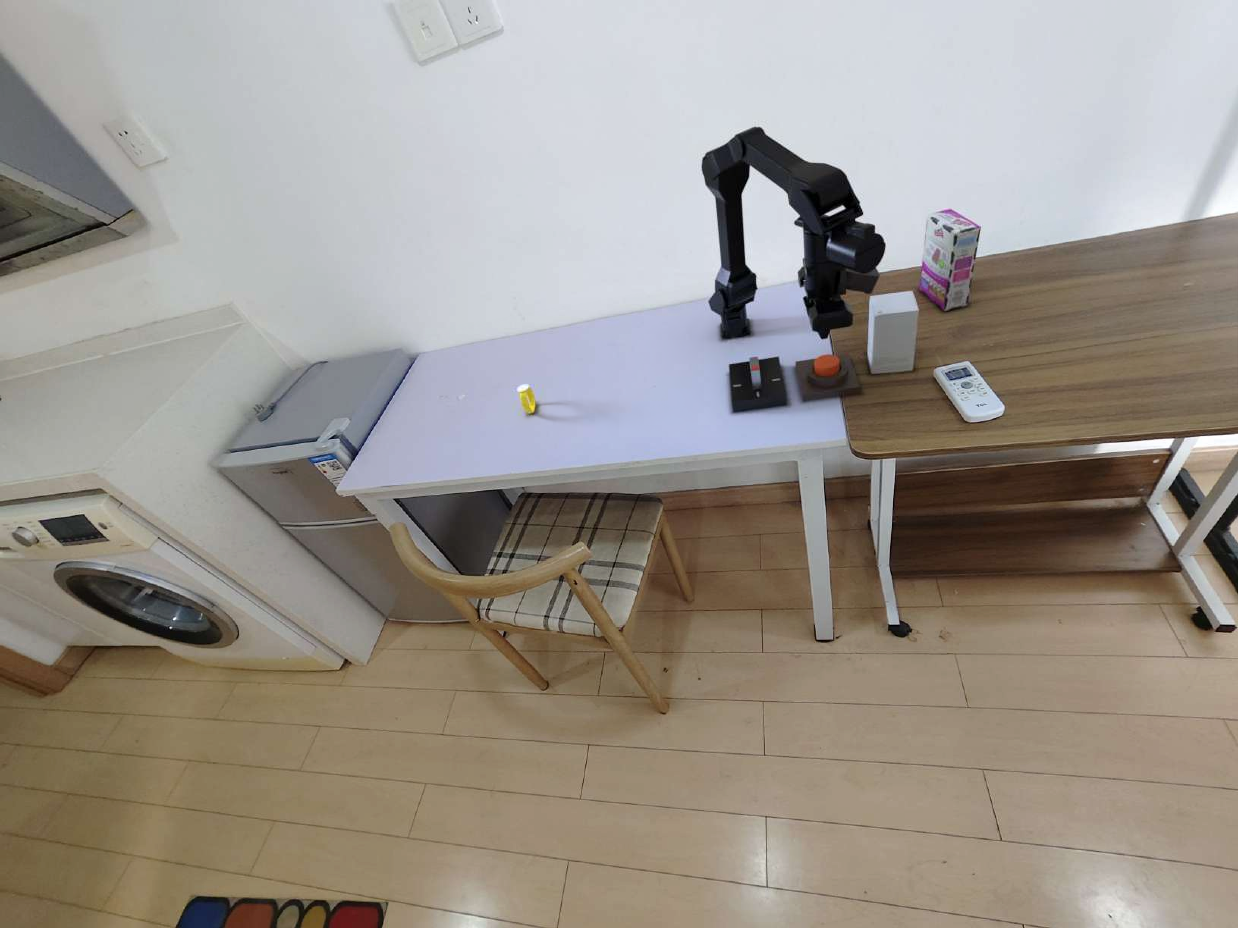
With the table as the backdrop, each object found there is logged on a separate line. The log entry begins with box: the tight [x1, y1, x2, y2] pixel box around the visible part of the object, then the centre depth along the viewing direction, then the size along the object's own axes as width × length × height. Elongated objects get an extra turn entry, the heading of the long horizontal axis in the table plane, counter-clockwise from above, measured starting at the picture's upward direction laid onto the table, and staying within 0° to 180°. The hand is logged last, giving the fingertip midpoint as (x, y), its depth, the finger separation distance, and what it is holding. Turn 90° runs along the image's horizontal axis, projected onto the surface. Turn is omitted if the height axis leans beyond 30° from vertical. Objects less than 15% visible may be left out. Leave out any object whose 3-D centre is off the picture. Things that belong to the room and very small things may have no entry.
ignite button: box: [814, 353, 839, 377], centre depth 108 cm, size 4×4×2 cm
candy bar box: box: [919, 208, 982, 312], centre depth 116 cm, size 11×5×16 cm, turn 6°
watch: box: [516, 383, 537, 414], centre depth 128 cm, size 6×3×6 cm, turn 1°
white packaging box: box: [866, 290, 920, 375], centre depth 106 cm, size 7×7×13 cm
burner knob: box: [748, 356, 762, 391], centre depth 110 cm, size 5×2×5 cm, turn 175°
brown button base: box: [795, 353, 861, 402], centre depth 110 cm, size 11×10×4 cm
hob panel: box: [728, 356, 788, 413], centre depth 114 cm, size 13×10×3 cm
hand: (824, 338), depth 104 cm, fingers closed
